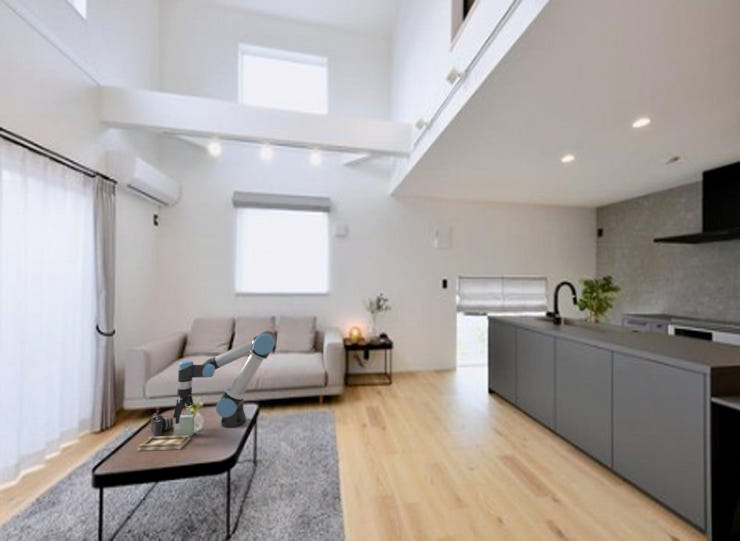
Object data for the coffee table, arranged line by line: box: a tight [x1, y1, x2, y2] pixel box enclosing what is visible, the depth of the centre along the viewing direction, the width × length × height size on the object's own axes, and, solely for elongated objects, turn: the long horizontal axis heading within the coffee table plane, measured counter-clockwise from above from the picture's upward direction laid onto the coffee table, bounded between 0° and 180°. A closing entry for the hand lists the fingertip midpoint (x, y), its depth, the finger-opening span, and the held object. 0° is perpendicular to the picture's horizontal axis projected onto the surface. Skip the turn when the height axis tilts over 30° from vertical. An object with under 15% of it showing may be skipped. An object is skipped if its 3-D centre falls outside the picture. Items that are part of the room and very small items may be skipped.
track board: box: [136, 435, 191, 452], centre depth 184 cm, size 22×12×2 cm, turn 95°
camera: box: [150, 412, 174, 437], centre depth 200 cm, size 14×11×10 cm
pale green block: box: [173, 414, 195, 437], centre depth 196 cm, size 10×4×11 cm, turn 95°
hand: (183, 423), depth 196 cm, fingers open, 13 cm apart
